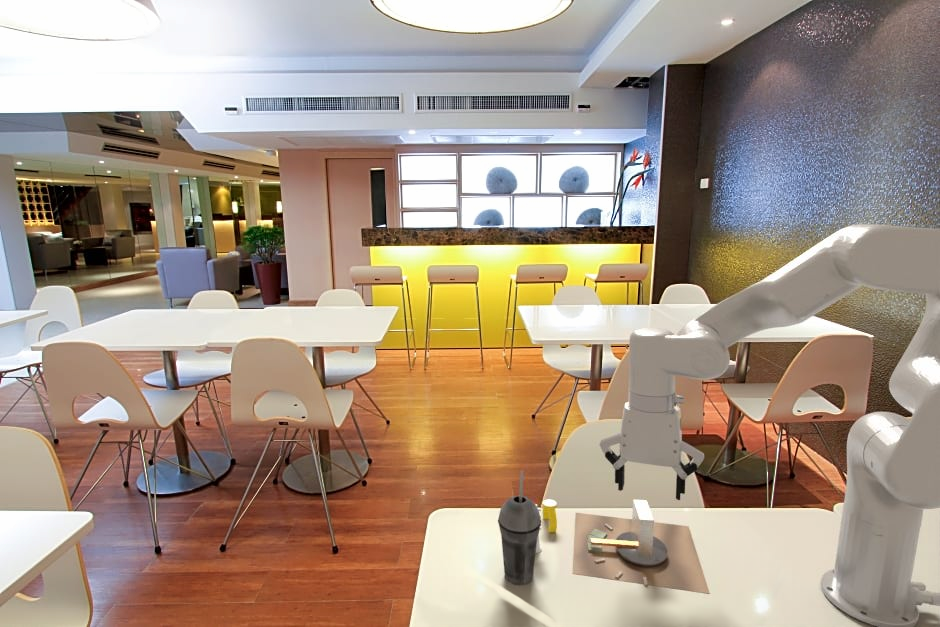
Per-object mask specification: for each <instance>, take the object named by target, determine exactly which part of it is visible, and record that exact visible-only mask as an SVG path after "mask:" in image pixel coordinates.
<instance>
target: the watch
mask: <svg viewBox="0 0 940 627" xmlns="http://www.w3.org/2000/svg"><path fill="white" fill-rule="evenodd" d="M557 506H558V504H557V501H556V500H553V499H550V498H549V499H545V500H543V501H542V519H543V520H545V519H546V520H547V519H549V524H548V525H549V527H548V528H549V529H548V533H557V530H558V529H557V527H558V525H557V524H558V519H557V513H556V508H557Z"/></svg>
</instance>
